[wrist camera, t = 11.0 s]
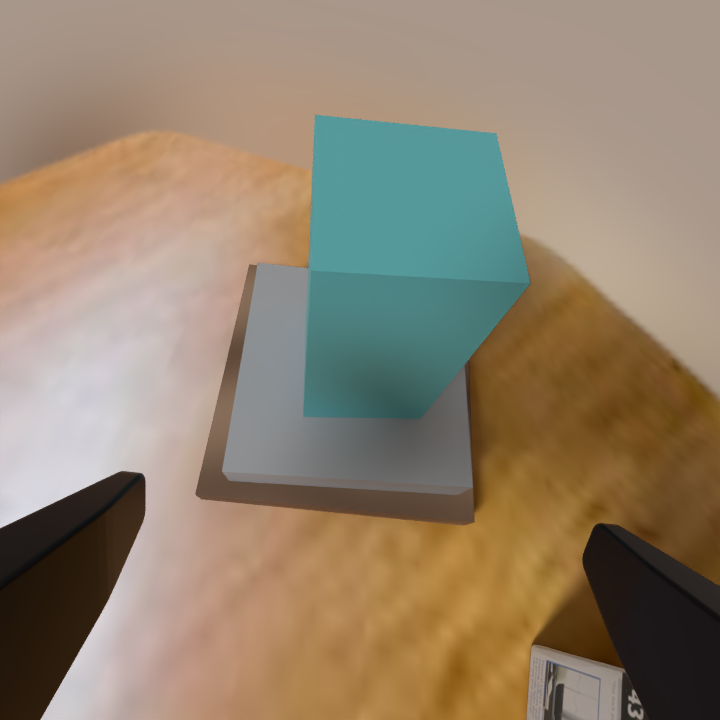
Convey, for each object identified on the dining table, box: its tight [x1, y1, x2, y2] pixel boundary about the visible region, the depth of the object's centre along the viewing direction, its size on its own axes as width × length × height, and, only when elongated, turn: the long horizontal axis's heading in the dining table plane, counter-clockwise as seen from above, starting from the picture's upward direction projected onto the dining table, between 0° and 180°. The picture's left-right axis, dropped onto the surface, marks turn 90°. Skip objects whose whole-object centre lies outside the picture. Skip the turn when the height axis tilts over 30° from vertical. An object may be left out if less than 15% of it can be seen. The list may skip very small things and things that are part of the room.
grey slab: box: [222, 263, 473, 495], centre depth 21 cm, size 10×10×2 cm
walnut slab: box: [196, 264, 474, 525], centre depth 23 cm, size 12×12×2 cm
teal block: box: [303, 115, 530, 419], centre depth 15 cm, size 5×5×10 cm
